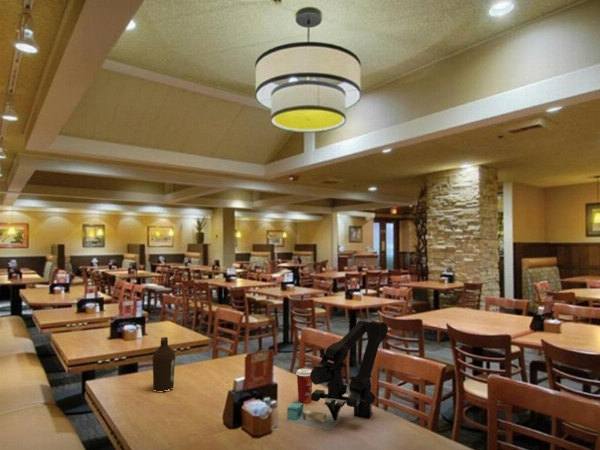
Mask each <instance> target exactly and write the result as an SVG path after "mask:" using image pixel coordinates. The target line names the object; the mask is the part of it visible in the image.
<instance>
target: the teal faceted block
mask: <svg viewBox="0 0 600 450" xmlns="http://www.w3.org/2000/svg"><path fill="white" fill-rule="evenodd" d="M286 411H287V412H286V415H287V417H286V419H292V420H297V419H298V415H303V412H304V404H303V403H299V401H293V402H292V403H291V404H289V406H287V409H286Z"/></svg>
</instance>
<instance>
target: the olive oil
mask: <svg viewBox="0 0 600 450" xmlns="http://www.w3.org/2000/svg"><path fill="white" fill-rule="evenodd" d="M175 366H176V354H175V351H174V350H173V349H172V348H171V347H170V346H169V340H168V336H163V337H161V338H160V346H159V347H158V348H157V349H156V351H155V352H154V353H153V355H152V382H153V383H152V388H153V389H154V390H156V391H164V390H168V389H171V388H173V389H174V387H173V386H174V383H175V370H176V368H175Z"/></svg>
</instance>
